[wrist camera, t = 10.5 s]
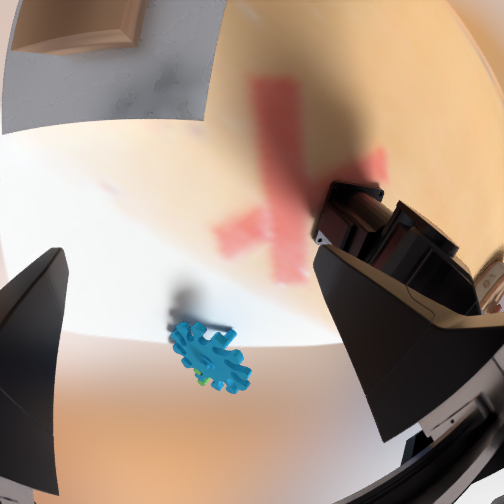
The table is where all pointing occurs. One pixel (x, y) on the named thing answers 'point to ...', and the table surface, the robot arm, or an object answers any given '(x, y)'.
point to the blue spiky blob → (211, 357)
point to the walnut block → (78, 25)
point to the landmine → (491, 288)
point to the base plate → (119, 73)
